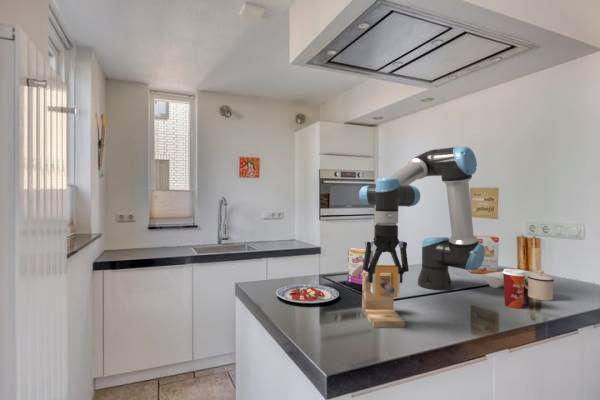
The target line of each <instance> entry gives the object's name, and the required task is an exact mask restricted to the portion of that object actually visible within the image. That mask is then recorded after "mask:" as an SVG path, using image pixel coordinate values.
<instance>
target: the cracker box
mask: <svg viewBox="0 0 600 400" xmlns="http://www.w3.org/2000/svg"><path fill="white" fill-rule="evenodd" d="M474 236H475V237H477V238H478V244H481V245H483V246H484V248H485V256H484V260H483V263H482V265H481V267H480V268H479V269H478V270H467V271H468V272H469V273H471V274H481V275H482V274H488V273H495V272H499V271H498V269H499V250H500V249H499V245H500V243H499V242H500V240H499V239H500V238H499V237H498V236H495V235H493V236H491V235H490V236H489V235H474Z"/></svg>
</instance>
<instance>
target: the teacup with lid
mask: <svg viewBox="0 0 600 400" xmlns="http://www.w3.org/2000/svg"><path fill="white" fill-rule="evenodd" d="M527 279H528V282H526V280H527ZM554 281H555V279H554V278H553V276H550V275H548V274H547V273H544V270H540V269H539V270H537V272H535V273H534V274H529V275H528V278H525V280H524V288H525V289H527V297H528V298H530V299H533V300H538V301H542V302H544V301H546V302H548V301H549V302H550V301H554Z"/></svg>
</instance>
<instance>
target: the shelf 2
mask: <svg viewBox="0 0 600 400" xmlns="http://www.w3.org/2000/svg"><path fill="white" fill-rule="evenodd" d="M516 269H517V270H522V271H524V272H525V274H526V276H525V278H528V275H529V274H534V273H536V271H534V272H533V271H530V270H523V269H518V268H516ZM503 271H504V270H502V271H498V272H495V273H488V274H482V273H481V278H482V279H485V282H486V283H488V286H489V287H490V288H494V289H498V288H502V287H503V288H504V276H503V273H502V272H503ZM526 283H528V279H527V280H526Z"/></svg>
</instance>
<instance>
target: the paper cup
mask: <svg viewBox="0 0 600 400" xmlns="http://www.w3.org/2000/svg"><path fill="white" fill-rule="evenodd" d="M517 269H518V268H516V269H515V268H504V269H503V270H502V271H503V272H502V271H501V272H502V273H503V276H504V287H503V295H504V297H503V299H504V306H505V307H508V308H511V309H518V310H519V309H522V308H523V302H524V301H523V300H524V289H525V286H524V280H525V276H526V274H525V272H524V271H522V270H523V269H520V270H517Z"/></svg>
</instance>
